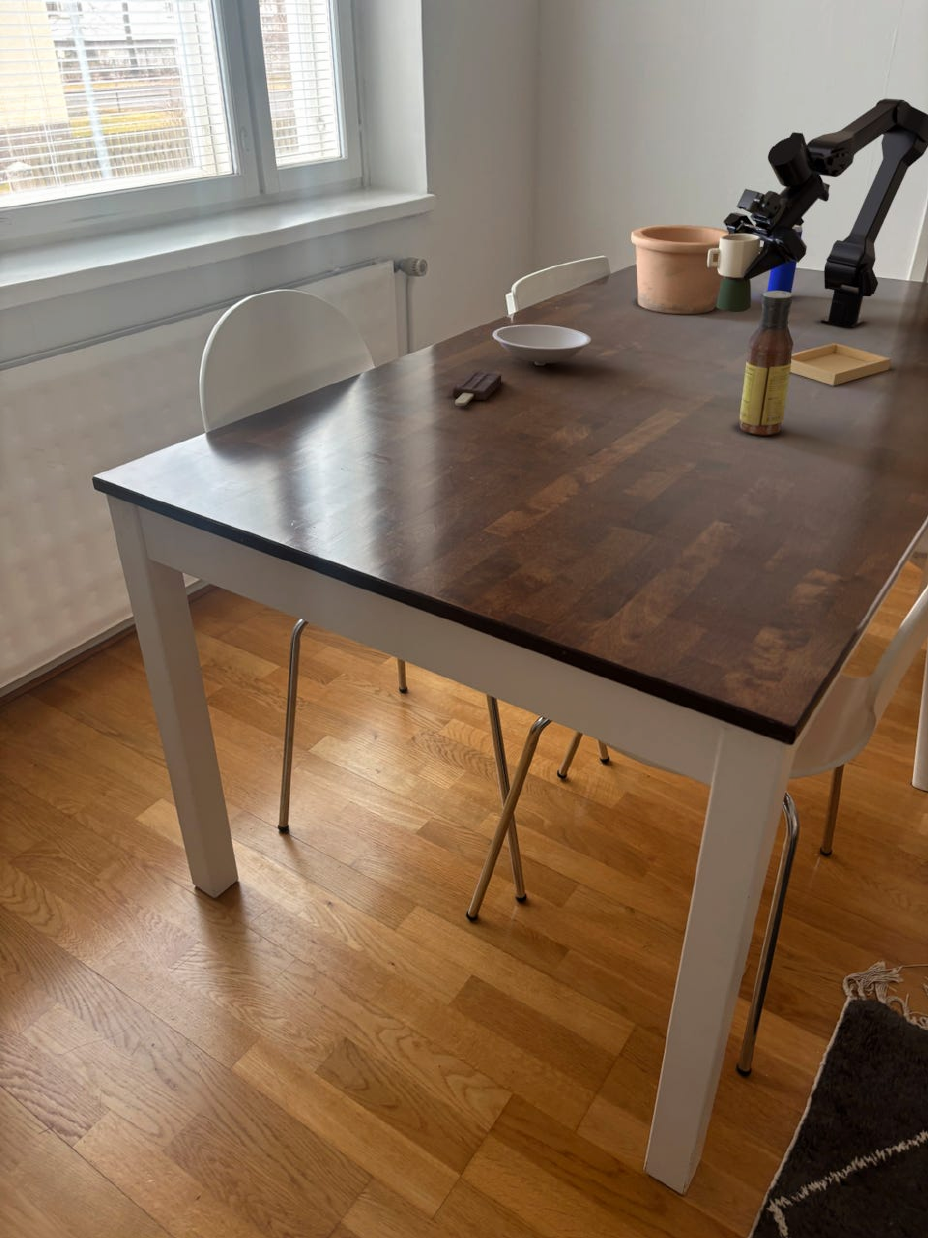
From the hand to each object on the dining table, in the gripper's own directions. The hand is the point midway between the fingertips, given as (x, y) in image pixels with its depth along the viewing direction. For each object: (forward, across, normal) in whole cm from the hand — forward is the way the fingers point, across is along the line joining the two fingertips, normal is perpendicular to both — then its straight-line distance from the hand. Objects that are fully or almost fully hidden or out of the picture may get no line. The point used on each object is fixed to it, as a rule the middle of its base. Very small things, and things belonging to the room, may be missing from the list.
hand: (731, 273), depth 173 cm
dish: (+35, -1, -18) cm, 39 cm away
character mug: (+4, 0, +6) cm, 7 cm away
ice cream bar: (+46, +10, -30) cm, 56 cm away
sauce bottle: (+23, +40, -5) cm, 46 cm away
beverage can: (-13, -28, +33) cm, 45 cm away
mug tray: (+2, +19, +17) cm, 25 cm away
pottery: (+4, -30, +15) cm, 33 cm away
